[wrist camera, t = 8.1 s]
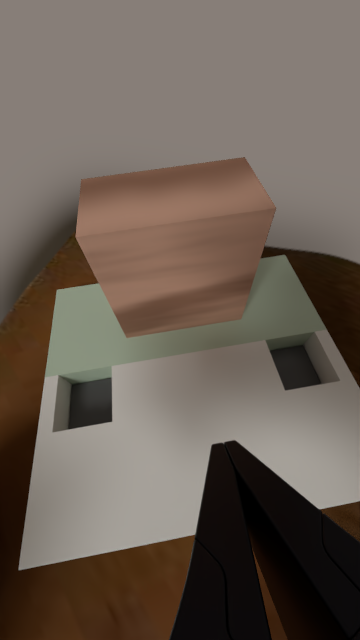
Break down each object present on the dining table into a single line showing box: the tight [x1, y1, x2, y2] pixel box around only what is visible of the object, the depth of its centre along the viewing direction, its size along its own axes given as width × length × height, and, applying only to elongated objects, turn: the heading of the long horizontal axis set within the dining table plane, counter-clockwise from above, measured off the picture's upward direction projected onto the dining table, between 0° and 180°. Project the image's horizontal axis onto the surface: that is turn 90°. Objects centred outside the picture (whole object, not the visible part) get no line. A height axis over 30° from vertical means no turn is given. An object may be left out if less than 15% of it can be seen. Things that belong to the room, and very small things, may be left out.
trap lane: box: [18, 255, 360, 570], centre depth 19 cm, size 19×22×2 cm
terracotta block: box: [76, 157, 276, 338], centre depth 17 cm, size 5×10×10 cm, turn 99°
